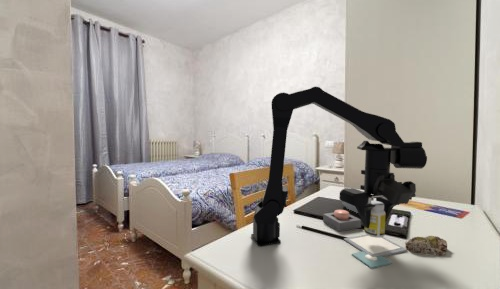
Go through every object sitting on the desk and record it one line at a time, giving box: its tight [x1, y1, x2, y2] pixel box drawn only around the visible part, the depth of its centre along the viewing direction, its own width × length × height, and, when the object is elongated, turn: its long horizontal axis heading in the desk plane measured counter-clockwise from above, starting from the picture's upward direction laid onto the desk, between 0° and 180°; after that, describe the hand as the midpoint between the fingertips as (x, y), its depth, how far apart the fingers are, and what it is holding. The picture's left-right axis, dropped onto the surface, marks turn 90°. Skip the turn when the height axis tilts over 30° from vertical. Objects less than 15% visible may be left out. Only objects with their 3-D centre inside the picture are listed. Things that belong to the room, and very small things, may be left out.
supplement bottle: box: [363, 200, 386, 238], centre depth 63 cm, size 5×5×8 cm
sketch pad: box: [343, 233, 408, 257], centre depth 64 cm, size 11×10×1 cm
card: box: [351, 251, 393, 269], centre depth 57 cm, size 6×6×1 cm
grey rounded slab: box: [340, 187, 375, 214], centre depth 89 cm, size 14×3×8 cm, turn 20°
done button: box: [333, 209, 350, 221], centre depth 77 cm, size 4×4×2 cm
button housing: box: [322, 212, 362, 232], centre depth 77 cm, size 8×8×2 cm
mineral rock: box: [404, 235, 448, 256], centre depth 63 cm, size 11×4×8 cm
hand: (374, 226), depth 64 cm, fingers closed on supplement bottle, 5 cm apart
